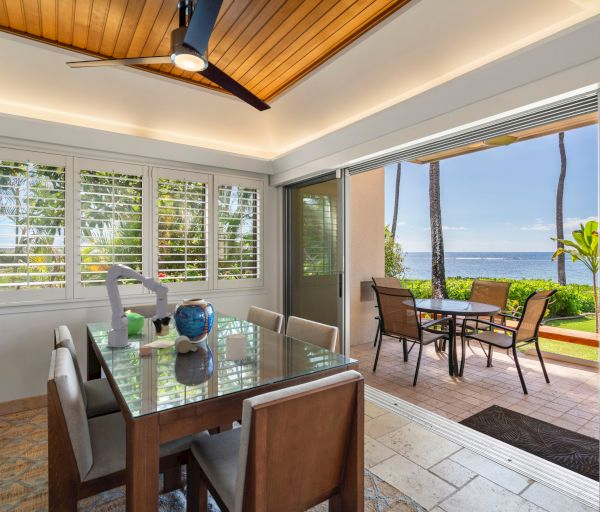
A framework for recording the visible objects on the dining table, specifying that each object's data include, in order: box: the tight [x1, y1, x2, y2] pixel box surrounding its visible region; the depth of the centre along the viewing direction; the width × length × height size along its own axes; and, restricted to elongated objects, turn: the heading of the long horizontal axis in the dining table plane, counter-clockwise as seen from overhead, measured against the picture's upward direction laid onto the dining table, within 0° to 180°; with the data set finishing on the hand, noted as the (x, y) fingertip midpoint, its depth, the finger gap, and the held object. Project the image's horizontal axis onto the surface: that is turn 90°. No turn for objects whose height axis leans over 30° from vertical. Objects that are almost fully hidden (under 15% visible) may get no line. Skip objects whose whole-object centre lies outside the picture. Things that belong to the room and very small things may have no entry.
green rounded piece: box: [111, 309, 146, 336], centre depth 222 cm, size 18×17×15 cm
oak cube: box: [154, 324, 170, 337], centre depth 199 cm, size 5×5×5 cm
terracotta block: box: [139, 345, 152, 357], centre depth 180 cm, size 4×4×4 cm
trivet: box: [142, 339, 175, 350], centre depth 200 cm, size 14×14×1 cm
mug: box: [225, 333, 248, 362], centre depth 178 cm, size 14×10×11 cm
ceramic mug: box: [174, 335, 198, 354], centre depth 186 cm, size 11×8×8 cm
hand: (161, 331), depth 200 cm, fingers closed on oak cube, 5 cm apart
